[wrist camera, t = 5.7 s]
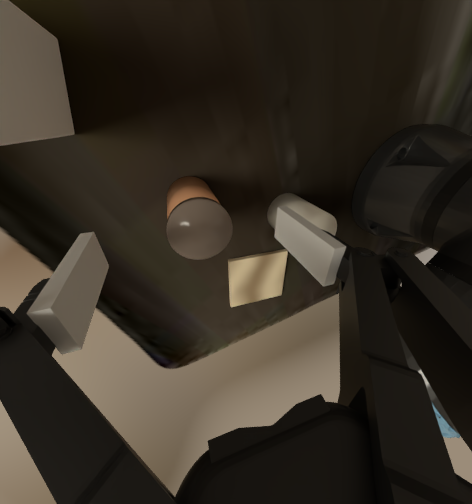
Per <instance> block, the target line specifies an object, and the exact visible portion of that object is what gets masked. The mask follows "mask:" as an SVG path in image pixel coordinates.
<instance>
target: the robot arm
mask: <svg viewBox="0 0 472 504" xmlns="http://www.w3.org/2000/svg"><path fill="white" fill-rule="evenodd" d="M352 214H353V218H354V220H355V222H356V224H357V225H358V226H359V227H361V228H362V229H364V230H366V231H368V232H370V233H371V234H374V235H377V236H381V237H387V238H393V239H399V240H405V241H411V242H417V243H421V244H423V245H426V246H428V247H430V248H432V249H435V250H436V251H438V253H437V254H436V255H435V256H434V257H433V258H432V259H431V260H430V261H429V263H427V264H426V265H424V264H423V263H422V262H421V261H420V260H419V259H418V258H417V257H416V256H415V255H414V254H413V253H411V252H409V251H407V250H406V249H403V248H389V249H388V251H387V253H386V255H376V254H375V253H374V252H373V251H371V250H369V249H366V248H360V247H357V248H352V247H351V246H349V245H348V244H346V243H345V242H343V241H342V240H340V239H339V238H337V237H336V236H334V235H333V234H331V233H330V232H327V231H325V230H322V229H320V228H318V227H317V226H315V225H314V224H312V223H311V222H309V221H308V220H306V219H305V218H303V217H302V216H301V215H299V214H298V213H296V212H295V211H293V210H292V209H290V208H289V207H287V206H281V207H278V209H277V218H276V228H275V238H276V239H277V240H278V241H279V242H280V243H281V244H282V245H283V246H284V247H285V248H286V249H287V250H288V251H289V252H290V253H291V254H292V255H293V256H294V257H295V258H296V259H297V260H298V261H299V262H300V263H301V264H302V265H303V266H304V267H305V268H306V269H307V270H308V271H309V272H310V273H311V274H312V275H313V276H314V277H315V278H316V279H317V280H318V281H319V282H320V283H321V284H322V285H323V286H327V285H331V284H334V282H335V279H336V276H337V277H338V278H339V279H341V281H340V284H339V286H338V289H337V292H336V294H338V293H339V311H340V312H339V316H340V394H339V399H338V403H334V402H325V400H324V398H323V397H322V395H321V394H320V395H317V396H315V397H313V398H310V399H308V400H305V401H303V402H301V403H298V404H296V405H295V406H294V407H293V408H291V409H290V410H289V411H288V412H287V413H286V414H285V415H284V416H283V417H282V418H280V419H279V420H278V421H277V422H276V423H275V424H274V425H271V426H262V427H248V428H247V427H246V428H238V429H235V430H233V431H230V432H228V433H225V434H223V435H221V436H218V437H216V438H213V439H211V440H209V441H208V446H209V450H208V451H206V452H205V453H204V454H203V455H202V456H201V457H200V458H199V459H198V460H197V461H196V462H195V463H194V465H193V466H192V468H191V469H190V470H189V472H188V473H187V475H186V477H185V478H184V480H183V482H182V484H181V486H180V488H179V490H178V492H177V494H176V497H174V496H173V494H172V493H171V492H170V491H169V490H168V489H167V488H166V486H165V485H164V484H163V483H162V482H161V481H160V480H159V478H158V477H157V476H156V475H155V474H154V473H153V472H152V471H151V470H150V468H149V467H148V466H147V465H146V464H145V463H144V461H143V460H142V459H141V458H140V457H139V456H138V455H137V453H136V452H135V451H134V450H133V449H132V448H131V447H130V445H129V444H128V443H127V442H126V441H125V440H124V438H123V437H122V436H121V435H120V434H119V433H118V432H117V430H116V429H115V428H114V427H113V426H112V425H111V423H110V422H109V421H108V420H107V419H106V418H105V417H104V416H103V414H102V413H101V412H100V411H99V410H98V409H97V407H96V406H95V405H94V404H93V403H92V402H91V401H90V399H89V398H88V397H87V396H86V395H85V394H84V392H83V391H82V390H81V389H80V388H79V387H78V386H77V384H76V383H75V382H74V381H73V380H72V379H71V377H70V376H69V375H68V374H67V373H66V372H65V371H64V369H63V368H62V367H61V366H60V365H59V364H58V363H57V361H56V360H55V359H54V358H53V357H52V353H53V351H54V349H55V347H56V348H57V349H58V351H59V352H60V353H61V354H66V353H70V352H73V351H77V350H81V349H82V346H83V343H84V339H85V337H86V333H87V331H88V328H89V325H90V322H91V319H92V316H93V313H94V310H95V307H96V304H97V301H98V298H99V295H100V292H101V289H102V286H103V283H104V280H105V277H106V274H107V271H108V268H109V265H108V263H107V260H106V258H105V256H104V254H103V251H102V249H101V247H100V245H99V242H98V240H97V238H96V236H95V233H94V232H90V233H82V234H80V235H79V236H78V238H77V239H76V241H75V242H74V244H73V245H72V247H71V248H70V250H69V251H68V253H67V254H66V256H65V257H64V259H63V260H62V261H61V263H60V264H59V266H58V267H57V269H56V270H55V272H54V273H53V275H52V276H51V278H48V279H43V280H42V281H41V282H39V283H38V284H37V285H35V286H34V287H33V288H32V290H31V291H30V292H29V294H28V296H26V298H25V299H24V300H23V303H21V305H20V306H19V307H18V308H17V310H16V311H15V313H14V314H13V313H11V311H10V310H9V309H8V308H6V307H0V400H1V402H2V404H3V406H4V407H5V409H6V411H7V413H8V415H9V417H10V419H11V420H12V422H13V424H14V426H15V428H16V429H17V431H18V433H19V435H20V437H21V439H22V441H23V442H24V444H25V446H26V448H27V450H28V452H29V453H30V455H31V457H32V459H33V461H34V463H35V465H36V466H37V468H38V470H39V472H40V474H41V475H42V477H43V479H44V481H45V483H46V485H47V487H48V488H49V490H50V492H51V494H52V496H53V497H54V499H55V501H56V503H57V504H472V484H471V483H469V482H468V481H466V480H465V479H463V478H461V477H460V476H458V475H457V474H455V473H454V469H453V467H452V463H451V460H450V457H449V454H448V451H447V448H446V445H445V442H444V439H443V437H447V438H451V437H457V438H459V437H460V436H461V437H462V438H463V440H464V441H465V443H466V444H467V445H468V447H469V448H470V450H471V451H472V137H471V136H469V135H466V134H464V133H462V132H459V131H457V130H455V129H452V128H450V127H447V126H443V125H428V124H420V125H414V126H410V127H408V128H405V129H403V130H401V131H399V132H398V133H396V134H395V135H393V136H392V137H391V138H389V139H388V140H387V141H386V142H385V143H384V144H383V145H382V146H381V147H380V148H379V149H378V150H377V151H376V152H375V153H374V155H373V156H372V157H371V159H370V160H369V161H368V163H367V164H366V166H365V168H364V169H363V171H362V173H361V175H360V177H359V179H358V181H357V184H356V187H355V190H354V193H353V199H352ZM435 266H436V267H435ZM454 276H455V277H454ZM401 282H402V287H401V286H400V284H401Z"/></svg>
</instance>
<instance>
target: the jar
mask: <svg viewBox="0 0 472 504" xmlns="http://www.w3.org/2000/svg"><path fill="white" fill-rule="evenodd" d="M167 218H168V220H167V238H168V241H169V243H170V245H171V247H172V248H173V249H174V250H175V251H176V252H177V253H178V254H180V255H181V256H184V257H186V258H189V259H196V260H200V259H207V258H210V257H213V256H215V255H217V254H218V253H220V252H221V251H222V250H223V249H224V248H225V247H226V246H227V245H228V243H229V241H230V239H231V236H232V231H233V226H232V221H231V218H230V216H229V214H228V213H227V211H226V210H225V209H224V207H223V206H222V205H221V204H220V203H219V201H218V200H217V198H216V197H215V195H214V194H213V192H212V191H211V189H210V188H209V186H208V185H207V184H206V183H205V182H204V181H203V180H201V179H199V178H197V177H193V176H186V177H182V178H179V179H177V180H176V181H174V182H173V183H172V185H171V186H170V187H169V190H168V192H167Z"/></svg>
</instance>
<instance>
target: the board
mask: <svg viewBox="0 0 472 504" xmlns="http://www.w3.org/2000/svg"><path fill="white" fill-rule="evenodd" d="M287 254H288V250H287V249H283V250H277V251H272V252H266V253H261V254H256V255H250V256H245V257H239V258H234V259H228V269H229V292H230V306H231V307H234V306H238V305H243V304H247V303H251V302H255V301H259V300H263V299H267V298H271V297H276V296H280V295H282V288H283V281H284V274H285V268H286V261H287Z"/></svg>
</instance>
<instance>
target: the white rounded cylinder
mask: <svg viewBox="0 0 472 504" xmlns="http://www.w3.org/2000/svg"><path fill="white" fill-rule="evenodd" d="M281 206H287V207H289V208H290V209H292V210H293V211H295V212H296V213H298V214H299V215H301V216H302V217H303V218H305V219H306V220H308V221H309V222H311V223H312V224H314V225H315V226H317V227H318V228H320V229H322V230H325V231H327V232H330V233H331V234H333V235H334V236H335V234H336V231H337V222H336V219H335V218H334V216H332V215H331V214H329V213H327V212H325V211H324V210H322V209H320V208H318V207H316V206H315V205H313V204H311V203H309V202H307V201H306V200H304V199H302V198H300V197H298V196H296V195H295V194H292V193H284V194H282V195H279V196H278V197H276V198H275V199H274V200H273V201H272V203H271V204H270V206H269V208H268V212H267V219H268V222H269V224H270V225H271V226H272V227H273V228H274V229H275V228H276V218H277V209H278V207H281Z"/></svg>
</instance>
